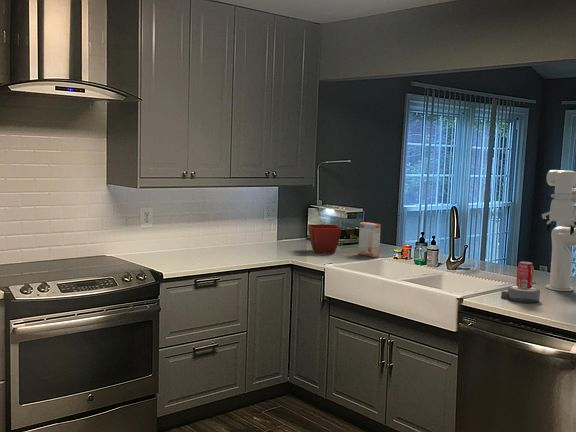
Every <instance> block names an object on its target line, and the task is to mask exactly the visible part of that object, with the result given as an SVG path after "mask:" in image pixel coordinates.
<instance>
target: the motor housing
mask: <svg viewBox="0 0 576 432" xmlns="http://www.w3.org/2000/svg"><path fill="white" fill-rule="evenodd" d="M540 296H541V290H540V289H538V288H535V287H533V286H532V288H530V289H520V288H518V287H517V285H511V286H508V287H507V290H504V289H503V290H501V296H500V298H501V299H507V300H509V301H510V302H514V303H519V304H528V305H529V304H531V305H533V304H534V305H535V304H539V303H540Z"/></svg>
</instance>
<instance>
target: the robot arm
mask: <svg viewBox="0 0 576 432" xmlns="http://www.w3.org/2000/svg"><path fill="white" fill-rule="evenodd" d="M546 183H547V185H548V186H552V187H554V193H553V194H550V197H551V198H553V199H552V200H551V203H550V206H549V207H550V208H549V211H547V212H545V213H542V214H541V217H542V220H543V221H544V223H545V224H546V231H547V233H548V234H551V235H550V236H551V237H550V238H551V261H550V275H549V283H548V284H546V285H545V287H546V288H547V289H548V290H552V291H558V292H572V291H574V287H573V286H571V278H572V266H573V264H572V263H573V253H572V252H571V250H570V248H569V247H573V248H574V247H575V248H576V208H575V207H574V204H576V171H575V170H565V169H564V170H563V169H562V170H561V169H560V170H559V169H550V170H548V172H547V174H546ZM546 216H549V218H547V217H546ZM548 219H549V220H548ZM552 222H556V224H557V225H556V227H554V228H553V229H551V227H552V224H551V223H552Z"/></svg>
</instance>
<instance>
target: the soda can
mask: <svg viewBox="0 0 576 432" xmlns="http://www.w3.org/2000/svg"><path fill="white" fill-rule="evenodd" d="M533 264H534V263H533V262H530V261H523V260H522V261H519V263H518V264H517V269H516V270H517V271H516V285H515V286H517V287H518V288H520V289H530V288H532V287H533V283H534V271H535V270H534V268H535V267H534V265H533Z"/></svg>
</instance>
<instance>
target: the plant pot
mask: <svg viewBox="0 0 576 432" xmlns="http://www.w3.org/2000/svg"><path fill="white" fill-rule="evenodd" d="M307 227H308V236H309V239H310V240H309V241H310V245H311V248H312V251H313V252H314V253H317V254H318V253H319V254H321V253H324V254H335V253H336V250H337V247H338V244H339V240H340V237H341V234H342V233H341V232H342V227H341V226H339V225H337V224H308V226H307Z"/></svg>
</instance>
